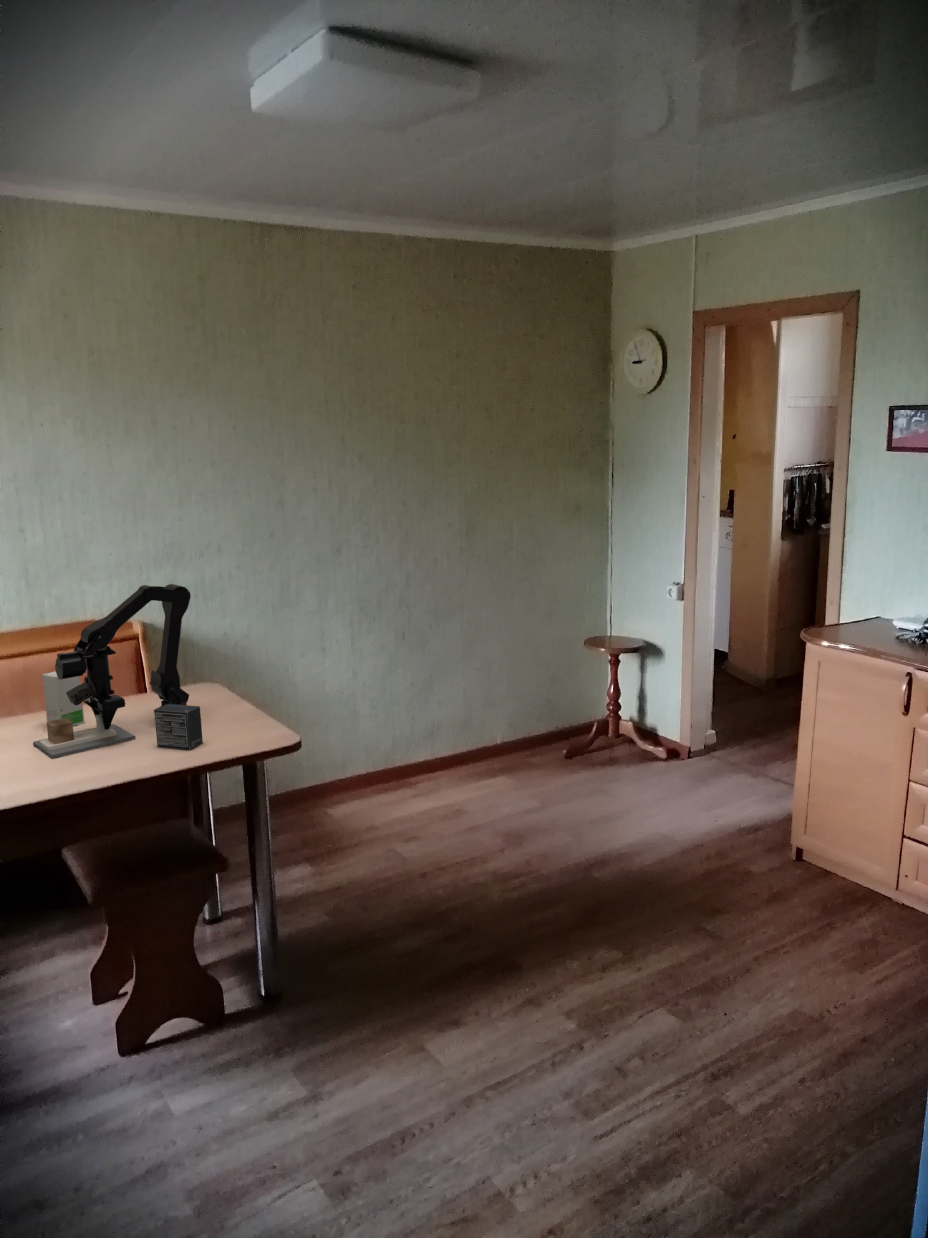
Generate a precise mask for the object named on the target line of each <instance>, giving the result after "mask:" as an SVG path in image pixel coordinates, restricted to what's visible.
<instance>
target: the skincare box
mask: <svg viewBox="0 0 928 1238" xmlns="http://www.w3.org/2000/svg"><path fill="white" fill-rule="evenodd" d="M41 676H42V677H41V678H42V685H43V686H42V687H43V695H44V702H45V703H44V706H45V713H46V714H45V715H46V722H49V721H54V720H59V719H63V718H66V719H68V720H70V721H71V722H72V724H73V727H75V726H78V725H82V724H85V713H84V701H83V702H82V703H81V704H79V705H74V704H73V703H71V702H70V700H69V698H68V696H67V694H66V692H67V691H69V690H71V689H73V688H74V687H76V686H78V685H80V684H82V683H81V676H77V677H72V678H67V679H61V680H60V679H59V678H58V676H57V674H56V670H55V671H51V672H47V673H42V674H41Z"/></svg>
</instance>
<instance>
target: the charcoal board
mask: <svg viewBox="0 0 928 1238" xmlns="http://www.w3.org/2000/svg"><path fill="white" fill-rule="evenodd" d="M95 728H96V727H94V728H90V729H89V728H88V729H85V730H79V731H76V732H75V731H73V733H77V732H82V731H86V730H91V729H95ZM111 729H113V730H114V731H116V732H117V735H115V736H111V737H107V738H102V739H98V740H94V741H89V742H85V743H81V744H76V745H72V746H68V747H63V748H59V749H55V750H50V751H48V750H47V749H45V748H44V747H43V746H41V745H40V742H39V741H42V740H46V739H48V737H47V738H44V739H39V740H34V741H32V745H33V746H34V747H35V748H36V749H38V750H39V751H41V752H42V753H44V754H45V755H46V756H48V757H49V758H51V760H53V759H54V760H55V759H59V758H63V757H66V756H70V755H74V754H78V753H83V752H88V751H92V750H96V749H100V748H105V747H110V746H113V745H117V744H121V743H124V742H129V741H134V740H136V735H135V734H133V733H131V732H129V731H127V730H125V728H124V729H123V727H120V726H118V725H117V724H115V723H111Z"/></svg>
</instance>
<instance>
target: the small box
mask: <svg viewBox="0 0 928 1238" xmlns="http://www.w3.org/2000/svg"><path fill="white" fill-rule="evenodd" d="M160 706H161V707H160ZM160 706H159V707H157V708H154V710H153V713H154V721H155V732H156V733H155V734H156V736H155V737H156V745H157V746H156V747H157V748H162V747H163V749H164V748H165V749H175V750H185V751H190V750H193V749H195V748H197V747H198V746H200V745H202V744H203V743H204V742H203V739H204V738H203V730H202V729H203V728H202V716H201V706H199V705H188V704H187V705H176V704H166V705H164V706H162V705H160Z"/></svg>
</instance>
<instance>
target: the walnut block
mask: <svg viewBox="0 0 928 1238" xmlns="http://www.w3.org/2000/svg"><path fill="white" fill-rule="evenodd" d="M45 724H46V729H47V731H46V732H47V738H48V740H49V741H50V742H52V743H53V744H59V743H64V742H68V741H72V740H74V726H73V724H72V722H71V721H70V720H68V719H66V718H63V719H59V720H54V721H49V722H47V721H46V723H45Z"/></svg>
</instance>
